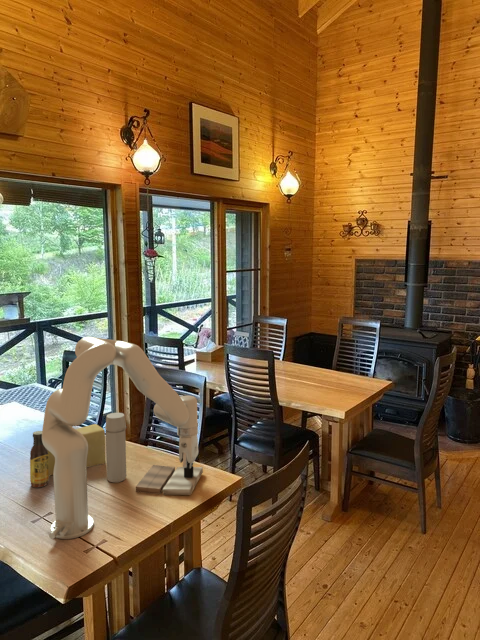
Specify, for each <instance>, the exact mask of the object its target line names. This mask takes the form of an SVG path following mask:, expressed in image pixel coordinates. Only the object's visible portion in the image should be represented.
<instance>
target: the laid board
mask: <svg viewBox="0 0 480 640" xmlns="http://www.w3.org/2000/svg"><path fill="white" fill-rule="evenodd" d="M175 470H176V467H175V466H169V465H158V464H157V465H156V464H153V465H151V467H150V468H149V469H148V471H147V472H146V473H145V474H144V475H143V477H142V478H141V479H140V480H139V482H138V483H137V484H136V485H135V493H144V494H155V495H161V493H163V488H164V487H165V485H166V484H167V482H168V481H169V479H170V478H171V476H172V475H173V473H174V472H175Z"/></svg>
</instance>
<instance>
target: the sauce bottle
mask: <svg viewBox="0 0 480 640" xmlns="http://www.w3.org/2000/svg"><path fill="white" fill-rule="evenodd" d="M32 438H33V444H32V447H31V449H30V452H29V453H30V457H29V477H30V478H29V479H30V487H32V488H37V489H38V488H42V487H43V488H44V487H45V486H47V485H48V483H49V479H50V478H49V477H50V476H49V471H48V450H47V449H46V448H45V447H44V445H43V442H42V430H37V431H34V432H32Z"/></svg>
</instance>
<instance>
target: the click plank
mask: <svg viewBox="0 0 480 640" xmlns="http://www.w3.org/2000/svg"><path fill="white" fill-rule="evenodd" d="M193 472H194V476H193V477H192V478H185V477H184V468H183V466H178V467H176V468H175V472H174V473H173V475H172V476H171V478H170V479H169V481H168V482H167V484H166V485H165V487H164V488H163V490H162V495H169V496H171V495H172V496H174V495H176V496H177V495H178V496H179V495H180V496H184V495H185V496H187V495H188V496H189V495H190V496H191V495H192V493H193V491H194V489H195V487H196V485H197V484H198V481H199V480H200V478H201V476H202V475H203V472H204V470H203V466H193Z"/></svg>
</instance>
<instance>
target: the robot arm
mask: <svg viewBox="0 0 480 640" xmlns="http://www.w3.org/2000/svg"><path fill="white" fill-rule="evenodd" d="M74 347H75V348H74V352H75V356H76V358H75V359H73V361H72V362H71V363H70V364H69V365H68V368H67V369H66V372H65V374H64V375H65V376H64V378H63V379H64V380H63V384H62V388H59V389H57V390H55V391H54V392H52V393H51V395H50V396H49V397H48V400H47V401H46V405H45V410H44V416H43V424H42V430H41V431H42V442H43V445H44V447H45V448H46V449H47V450H48V451H49V452H51V453H52V454H53V455H54V457H55V466H54V473H53V475H52V476H53V478H52V479H53V489H54V490H53V492H54V494H53V495H54V508H55V509H54V512H55V516H54V517H55V520H54V522H52V524H51V525H50V532H49V533H48V537H49V538H50V539H52V540H53V539H55V538H56V539H60V540H72V539H76V538H79V537H82V536H84V535H86V534H87V533H89V532H90V531H92V529H93V527H94V519H93V517H92V516H90V515H89V503H88V500H89V499H88V479H87V477H88V475H87V467H86V462H87V454H88V443H87V440H86V438H85V437H84V436H83V435H82V434H81V433H80V432H79V431H77V430H76V429H77V428H76V429H75V428H74V427H79V426H80V425H83V424H84V423H85V422H86V421H87V419H88V416H89V412H90V404H91V399H92V398H91V397H92V392H93V386H94V382H95V380H96V377H97V376H98V375H99V374H100V373H101V372H102V371H103V370H104V369H106V368H108V367H109V366H111V365H114V366H118V367H121V368H122V369H123V371H124V372H125V373H126V374H127V376H128V377H129V379H130V380H131V381H132V382H133V383H132V384H134V386H135V387H136V389H137V390H138V391H139V392H140V393H141V394H142V395H143V396H145V397H147V398H148V399H149V400H150V401H152V402H154V403H155V405H154V407H153V414H154V416H155V418H157V419H159V420H160V421H163V422H165V423H166V424H167V423H168V424H170V425H171V426H173V427H175V428H176V431H177V433H176V434H177V436H178V440H179V441H178V459H179V463H180V464H182V467H183V468H184V477H185V478H192V477H193V476H194V472H193V467H194V463H195V460H196V459H197V457H198V455H199V439H198V434H199V430H198V429H199V428H198V427H199V425H198V421H199V420H198V400H197V397H195V396H193V395H181V396H180V395H179V394H178V392H177V391H176V390H175V389H174V388H172V387H173V386H171V385H170V384H169V383H168V382H167V381H166V379H164V378H163V377H162V376H161V374H159V372H158V371H157V369H156V368H155V366H154V365H153V364H152V362H151V360H150V359H149V357H148V356H147V354H146V353H145V351H144V350H143V349H142V347H140V346H139V345H137V344H135V343H132V342H127V341H125V340H124V341H123V340H118V339H117V340H116V339H108V338H102V337H101V338H100V337H94V336H85V337H82V338H81V339H80V340H78V341H77V343H76V344H75V346H74Z"/></svg>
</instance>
